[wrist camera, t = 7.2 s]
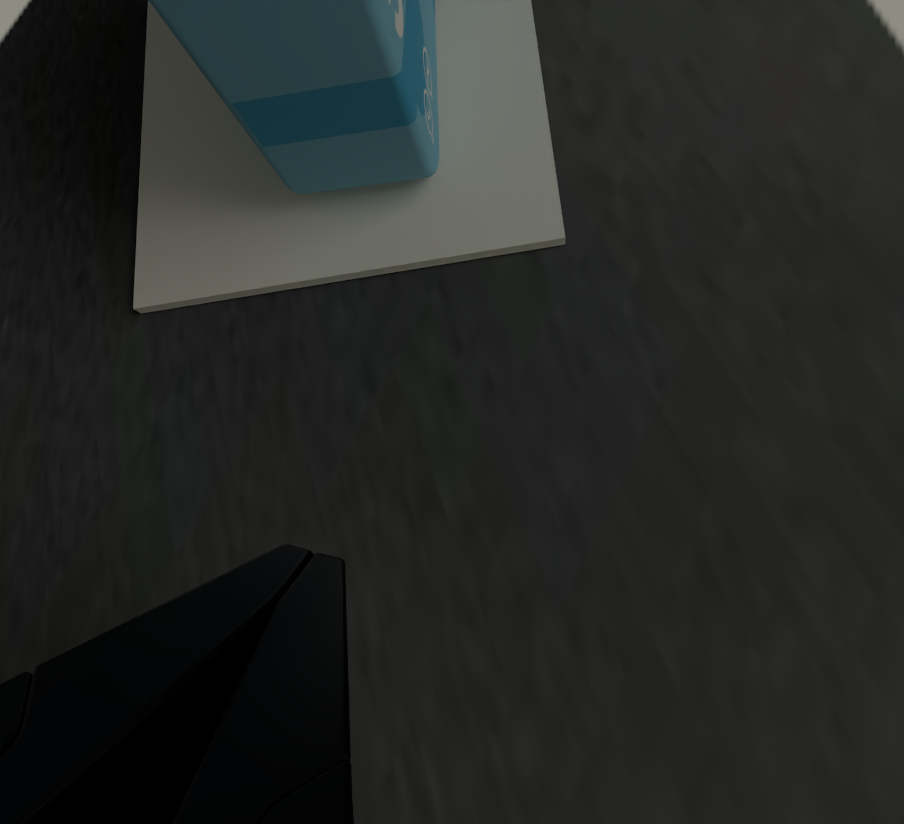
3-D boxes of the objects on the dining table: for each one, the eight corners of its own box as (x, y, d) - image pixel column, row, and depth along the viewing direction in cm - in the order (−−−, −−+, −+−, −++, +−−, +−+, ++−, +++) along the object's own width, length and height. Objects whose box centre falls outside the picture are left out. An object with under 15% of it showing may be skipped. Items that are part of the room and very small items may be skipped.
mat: (565, 244, 19) (565, 237, 18) (140, 313, 21) (132, 308, 20) (508, -151, 23) (507, -163, 22) (157, -59, 25) (151, -69, 24)
